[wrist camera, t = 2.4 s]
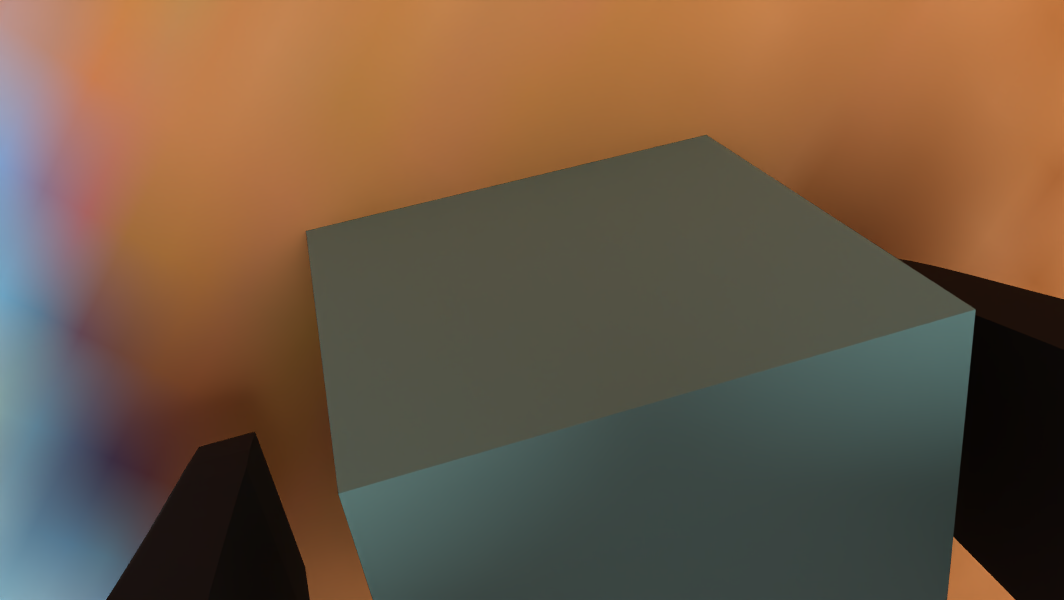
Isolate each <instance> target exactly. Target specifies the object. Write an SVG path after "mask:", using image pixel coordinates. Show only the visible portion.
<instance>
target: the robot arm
mask: <svg viewBox="0 0 1064 600" xmlns="http://www.w3.org/2000/svg"><path fill="white" fill-rule="evenodd" d="M899 260H900V261H902V262H903V263H905V264H906V265H908V266H909V267H911V268H912V269H914V270H916V271H917V272H919V273H920V274H922V275H923V276H925V277H926V278H928V279H929V280H931V281H933V282H934V283H936V284H937V285H939V286H940V287H942V288H943V289H945V290H946V291H948V292H950V293H951V294H953V295H954V296H956V297H957V298H959V299H960V300H962V301H963V302H965V303H966V304H968V305H970V306H971V307H973V308H974V309H976V311H975V321H974V332H973V342H972V352H971V362H970V372H969V382H968V392H967V402H966V412H965V422H964V432H963V443H962V453H961V463H960V473H959V483H958V493H957V503H956V513H955V523H954V533H953V537H954V538H955V539H956V540H957V541H958V542H959V543H960V544H961V545H962V546H963V547H964V548H965V549H966V550H967V551H968V552H969V553H970V554H971V555H972V556H973V557H974V558H975V559H976V560H977V561H978V562H979V563H980V564H981V565H982V566H983V567H984V568H985V569H986V570H987V571H988V572H989V573H990V574H991V575H992V576H993V577H994V578H995V579H996V580H997V581H998V582H999V583H1000V584H1001V585H1002V586H1003V587H1004V588H1005V589H1006V590H1007V591H1008V592H1009V594H1010V595H1011V596H1012V597H1013V598H1014V599H1015V600H1064V299H1060V298H1056V297H1052V296H1048V295H1045V294H1041V293H1037V292H1033V291H1029V290H1025V289H1022V288H1018V287H1014V286H1010V285H1006V284H1003V283H999V282H995V281H991V280H987V279H984V278H980V277H976V276H972V275H968V274H964V273H960V272H956V271H952V270H948V269H944V268H940V267H936V266H932V265H927V264H922V263H918V262H913V261H907V260H901V259H899ZM106 600H310V599H309V592H308V585H307V578H306V570H305V566H304V563H303V560H302V558H301V555H300V552H299V550H298V547H297V544H296V541H295V539H294V536H293V533H292V531H291V528H290V525H289V522H288V520H287V517H286V514H285V512H284V509H283V506H282V504H281V501H280V498H279V495H278V493H277V490H276V487H275V485H274V482H273V479H272V476H271V474H270V471H269V468H268V466H267V463H266V460H265V458H264V455H263V452H262V449H261V447H260V444H259V441H258V439H257V436H256V433H255V432H252V433H249V434H245V435H241V436H238V437H234V438H230V439H227V440H223V441H219V442H216V443H212V444H208V445H205V446H201V447H199V448H198V450H197V451H196V453H195V454H194V456H193V457H192V459H191V461H190V462H189V464H188V466H187V467H186V469H185V470H184V472H183V474H182V476H181V477H180V479H179V481H178V482H177V484H176V486H175V488H174V489H173V491H172V493H171V495H170V496H169V498H168V500H167V501H166V503H165V505H164V507H163V508H162V510H161V512H160V513H159V515H158V517H157V519H156V520H155V522H154V524H153V525H152V527H151V529H150V530H149V532H148V534H147V535H146V537H145V539H144V540H143V542H142V544H141V545H140V547H139V548H138V550H137V552H136V553H135V555H134V556H133V558H132V560H131V561H130V563H129V564H128V566H127V568H126V569H125V571H124V572H123V574H122V576H121V577H120V579H119V580H118V582H117V584H116V585H115V587H114V588H113V590H112V592H111V593H110V595H109V596H108V598H107V599H106Z"/></svg>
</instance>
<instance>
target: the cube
mask: <svg viewBox="0 0 1064 600" xmlns="http://www.w3.org/2000/svg"><path fill="white" fill-rule="evenodd" d="M306 235H307V243H308V252H309V260H310V268H311V276H312V284H313V292H314V300H315V308H316V317H317V325H318V333H319V341H320V349H321V357H322V365H323V374H324V382H325V390H326V398H327V406H328V414H329V422H330V430H331V439H332V447H333V455H334V463H335V471H336V479H337V487H338V494H339V497H340V501H341V504H342V507H343V510H344V513H345V516H346V519H347V522H348V525H349V528H350V531H351V534H352V537H353V540H354V543H355V547H356V550H357V553H358V556H359V559H360V562H361V565H362V568H363V571H364V574H365V577H366V580H367V583H368V586H369V589H370V592H371V596H372V599H373V600H947V594H948V584H949V574H950V564H951V553H952V543H953V533H954V523H955V513H956V503H957V493H958V483H959V473H960V463H961V453H962V443H963V432H964V422H965V412H966V402H967V392H968V382H969V372H970V362H971V352H972V342H973V332H974V321H975V311H976V309H974V308H973V307H971V306H970V305H968V304H966V303H965V302H963V301H962V300H960V299H959V298H957V297H956V296H954V295H953V294H951V293H950V292H948V291H946V290H945V289H943V288H942V287H940V286H939V285H937V284H936V283H934V282H933V281H931V280H929V279H928V278H926V277H925V276H923V275H922V274H920V273H919V272H917V271H916V270H914V269H912V268H911V267H909V266H908V265H906V264H905V263H903V262H902V261H900V260H899V259H897V258H895V257H894V256H892V255H891V254H889V253H888V252H886V251H885V250H883V249H882V248H880V247H878V246H877V245H875V244H874V243H872V242H871V241H869V240H868V239H866V238H865V237H863V236H862V235H860V234H858V233H857V232H855V231H854V230H852V229H851V228H849V227H848V226H846V225H845V224H843V223H841V222H840V221H838V220H837V219H835V218H834V217H832V216H831V215H829V214H828V213H826V212H824V211H823V210H821V209H820V208H818V207H817V206H815V205H814V204H812V203H811V202H809V201H807V200H806V199H804V198H803V197H801V196H800V195H798V194H797V193H795V192H794V191H792V190H791V189H789V188H787V187H786V186H784V185H783V184H781V183H780V182H778V181H777V180H775V179H774V178H772V177H770V176H769V175H767V174H766V173H764V172H763V171H761V170H760V169H758V168H757V167H755V166H753V165H752V164H750V163H749V162H747V161H746V160H744V159H743V158H741V157H740V156H738V155H736V154H735V153H733V152H732V151H730V150H729V149H727V148H726V147H724V146H723V145H721V144H720V143H718V142H716V141H715V140H713V139H712V138H710V137H709V136H707V135H704V136H700V137H696V138H691V139H687V140H683V141H679V142H675V143H671V144H666V145H662V146H658V147H654V148H650V149H646V150H641V151H637V152H633V153H629V154H625V155H621V156H616V157H612V158H608V159H604V160H600V161H596V162H591V163H587V164H583V165H579V166H575V167H571V168H566V169H562V170H558V171H554V172H550V173H546V174H542V175H537V176H533V177H529V178H525V179H521V180H517V181H512V182H508V183H504V184H500V185H496V186H492V187H487V188H483V189H479V190H475V191H471V192H467V193H462V194H458V195H454V196H450V197H446V198H442V199H437V200H433V201H429V202H425V203H421V204H417V205H412V206H408V207H404V208H400V209H396V210H392V211H387V212H383V213H379V214H375V215H371V216H367V217H362V218H358V219H354V220H350V221H346V222H342V223H338V224H333V225H329V226H325V227H321V228H317V229H313V230H308V231H306Z"/></svg>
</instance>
